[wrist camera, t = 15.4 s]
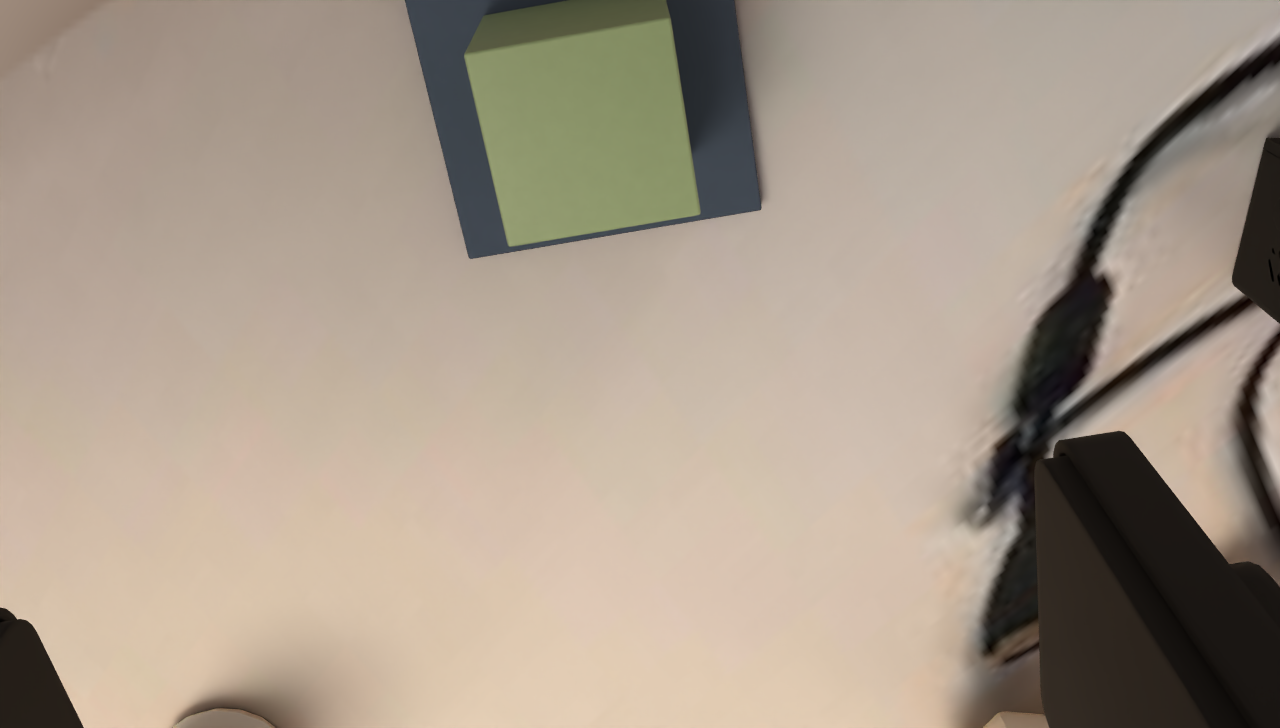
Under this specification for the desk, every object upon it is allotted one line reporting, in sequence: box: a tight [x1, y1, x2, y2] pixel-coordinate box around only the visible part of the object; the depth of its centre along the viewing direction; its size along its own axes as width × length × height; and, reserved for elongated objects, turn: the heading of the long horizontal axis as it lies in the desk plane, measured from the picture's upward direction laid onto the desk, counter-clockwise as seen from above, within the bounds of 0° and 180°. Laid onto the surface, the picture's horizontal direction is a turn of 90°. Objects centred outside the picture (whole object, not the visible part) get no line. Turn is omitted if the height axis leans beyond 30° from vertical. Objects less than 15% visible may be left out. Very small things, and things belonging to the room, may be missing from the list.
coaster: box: [405, 0, 761, 259], centre depth 31 cm, size 8×8×1 cm
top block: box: [464, 0, 701, 247], centre depth 29 cm, size 4×4×4 cm
